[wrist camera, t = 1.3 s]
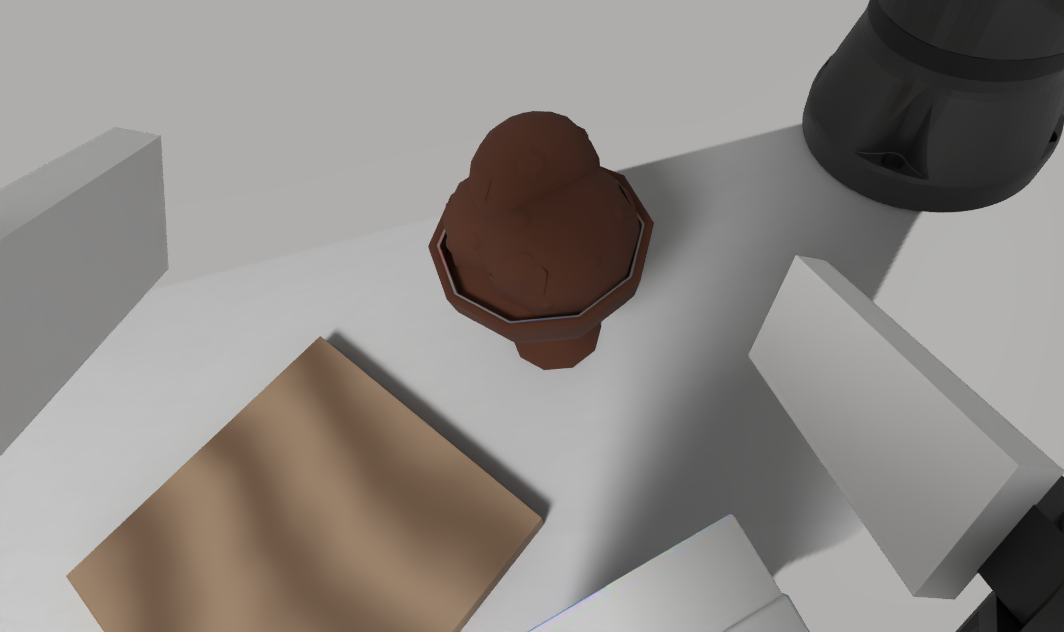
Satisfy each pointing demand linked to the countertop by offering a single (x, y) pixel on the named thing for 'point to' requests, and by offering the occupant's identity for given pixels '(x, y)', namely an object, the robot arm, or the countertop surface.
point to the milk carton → (689, 592)
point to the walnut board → (312, 521)
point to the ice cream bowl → (541, 239)
